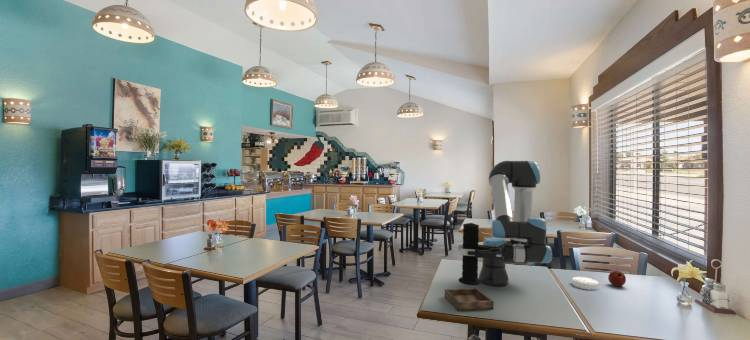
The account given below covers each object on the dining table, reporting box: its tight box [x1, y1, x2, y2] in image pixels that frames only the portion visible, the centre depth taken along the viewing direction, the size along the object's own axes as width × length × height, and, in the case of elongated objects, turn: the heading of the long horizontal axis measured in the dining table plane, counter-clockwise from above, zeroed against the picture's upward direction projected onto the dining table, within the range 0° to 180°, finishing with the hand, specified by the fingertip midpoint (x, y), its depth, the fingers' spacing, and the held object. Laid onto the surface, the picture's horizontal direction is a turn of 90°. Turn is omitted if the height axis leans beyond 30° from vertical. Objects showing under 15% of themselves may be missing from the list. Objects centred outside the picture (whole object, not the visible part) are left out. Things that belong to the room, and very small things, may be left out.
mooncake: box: [571, 276, 600, 291], centre depth 179 cm, size 12×12×4 cm
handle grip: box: [457, 222, 482, 286], centre depth 154 cm, size 10×26×10 cm
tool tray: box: [444, 287, 494, 312], centre depth 155 cm, size 16×16×4 cm
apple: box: [607, 270, 627, 287], centre depth 180 cm, size 7×8×8 cm
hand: (459, 249), depth 155 cm, fingers closed on handle grip, 7 cm apart
